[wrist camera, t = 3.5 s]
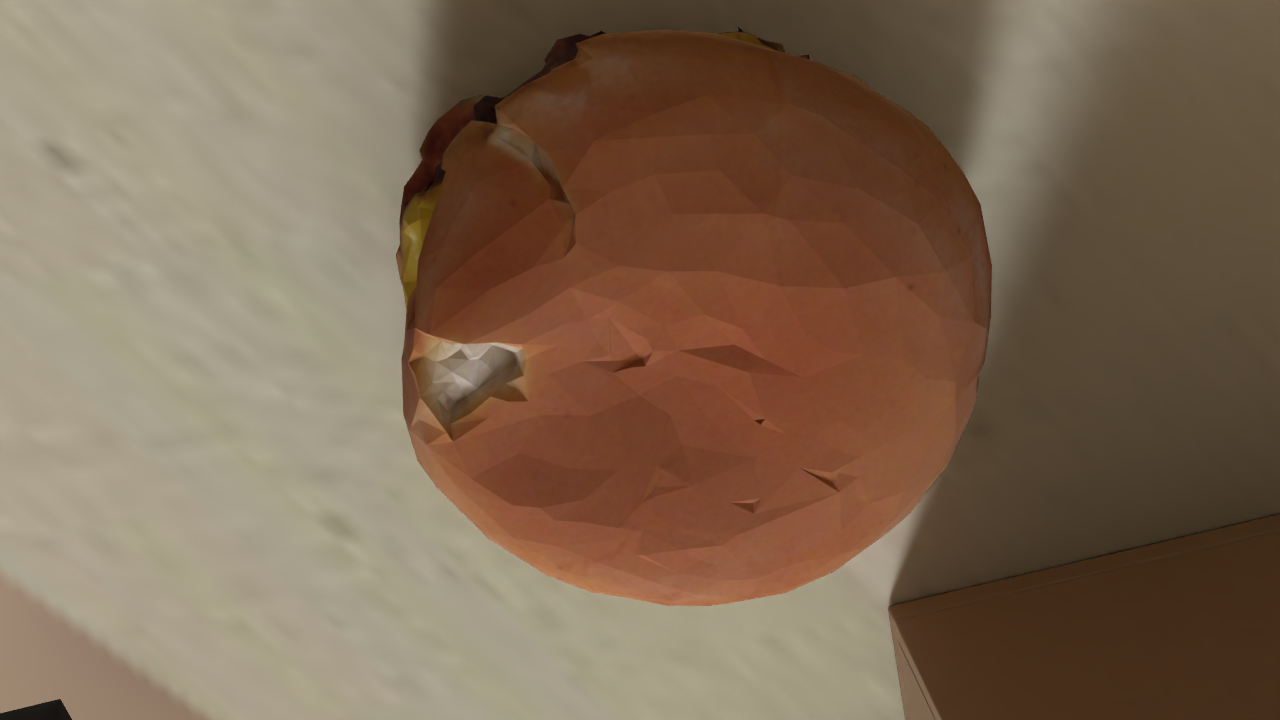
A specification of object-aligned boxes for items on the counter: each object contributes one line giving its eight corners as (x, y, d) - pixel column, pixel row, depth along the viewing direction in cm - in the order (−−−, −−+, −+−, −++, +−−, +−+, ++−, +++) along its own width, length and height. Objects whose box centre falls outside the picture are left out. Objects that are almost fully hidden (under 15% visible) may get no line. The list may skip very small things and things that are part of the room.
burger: (967, 442, 22) (1070, 581, 17) (514, 571, 22) (507, 738, 18) (875, -77, 18) (981, -63, 13) (323, 90, 18) (255, 156, 14)
